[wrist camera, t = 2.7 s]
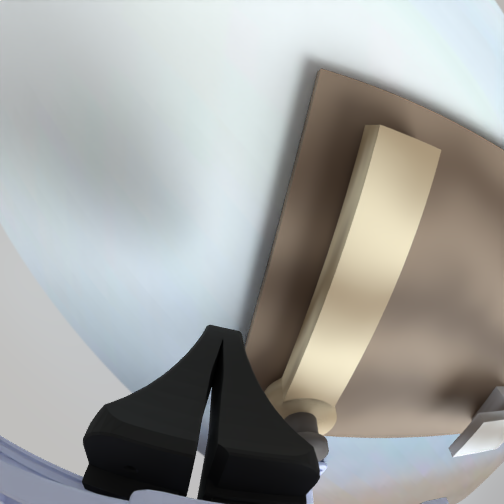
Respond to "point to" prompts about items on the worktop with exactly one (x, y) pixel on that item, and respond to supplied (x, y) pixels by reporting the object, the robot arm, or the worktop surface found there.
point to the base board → (409, 282)
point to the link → (355, 278)
